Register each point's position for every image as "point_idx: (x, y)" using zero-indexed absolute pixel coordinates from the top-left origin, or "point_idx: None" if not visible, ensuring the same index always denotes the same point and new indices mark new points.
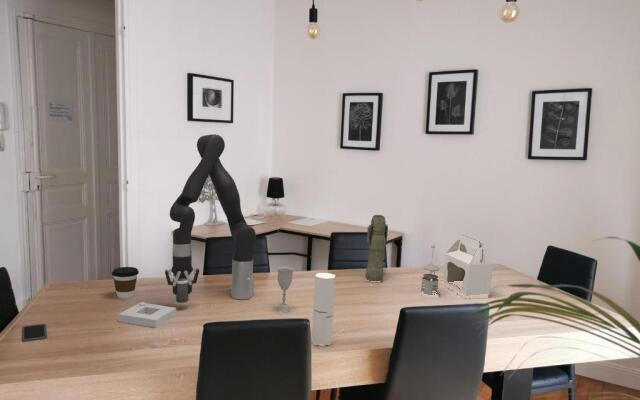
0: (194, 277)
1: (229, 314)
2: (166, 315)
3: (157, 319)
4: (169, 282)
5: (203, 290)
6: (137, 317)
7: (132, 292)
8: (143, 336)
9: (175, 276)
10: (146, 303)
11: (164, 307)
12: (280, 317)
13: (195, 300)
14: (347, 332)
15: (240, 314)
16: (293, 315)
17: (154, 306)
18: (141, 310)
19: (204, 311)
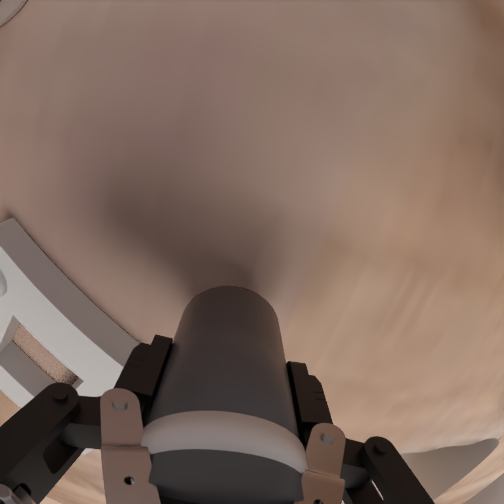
0: (383, 487)
1: (399, 417)
2: None
3: (86, 453)
4: (66, 450)
5: (457, 30)
6: (15, 402)
7: (6, 2)
8: None
9: (115, 484)
10: (10, 260)
11: (103, 369)
12: (475, 438)
13: (371, 174)
14: (475, 482)
15: (426, 419)
16: (499, 427)
17: (50, 330)
18: (7, 331)
19: (334, 373)
